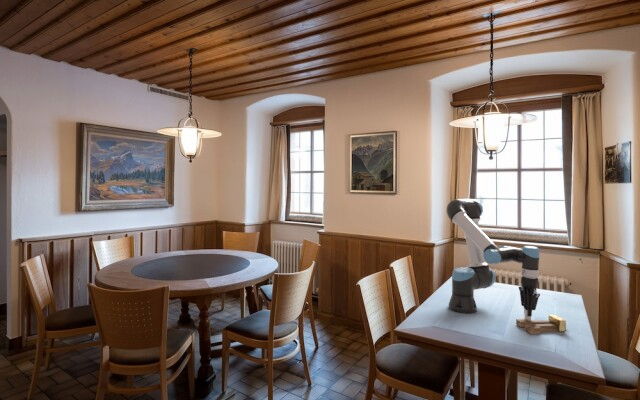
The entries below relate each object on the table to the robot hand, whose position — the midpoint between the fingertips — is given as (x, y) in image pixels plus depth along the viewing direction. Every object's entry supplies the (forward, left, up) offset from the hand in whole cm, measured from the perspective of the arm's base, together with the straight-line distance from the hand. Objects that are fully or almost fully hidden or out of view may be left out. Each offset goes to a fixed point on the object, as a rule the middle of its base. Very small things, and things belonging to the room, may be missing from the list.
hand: (527, 321), depth 184 cm
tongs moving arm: (+4, +4, -1) cm, 6 cm away
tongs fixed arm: (+10, +2, -1) cm, 10 cm away
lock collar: (+8, +10, -1) cm, 13 cm away
